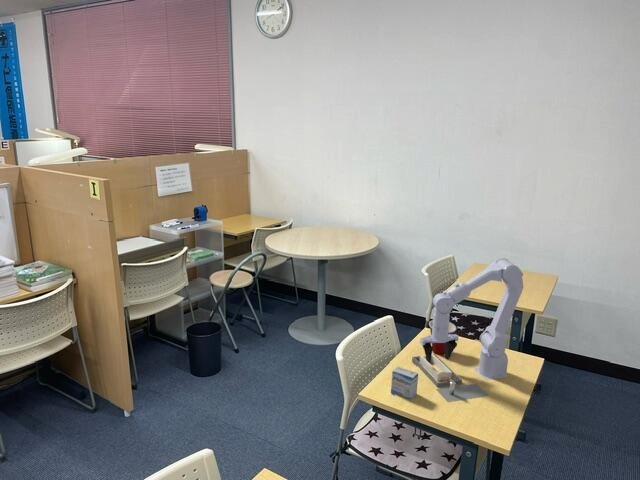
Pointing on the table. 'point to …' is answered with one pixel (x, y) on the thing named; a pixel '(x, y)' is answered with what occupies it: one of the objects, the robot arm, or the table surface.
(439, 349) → the plastic cup
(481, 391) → the stake base
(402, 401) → the table surface
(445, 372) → the cream rectangular sleeve
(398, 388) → the medicine box
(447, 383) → the tray
